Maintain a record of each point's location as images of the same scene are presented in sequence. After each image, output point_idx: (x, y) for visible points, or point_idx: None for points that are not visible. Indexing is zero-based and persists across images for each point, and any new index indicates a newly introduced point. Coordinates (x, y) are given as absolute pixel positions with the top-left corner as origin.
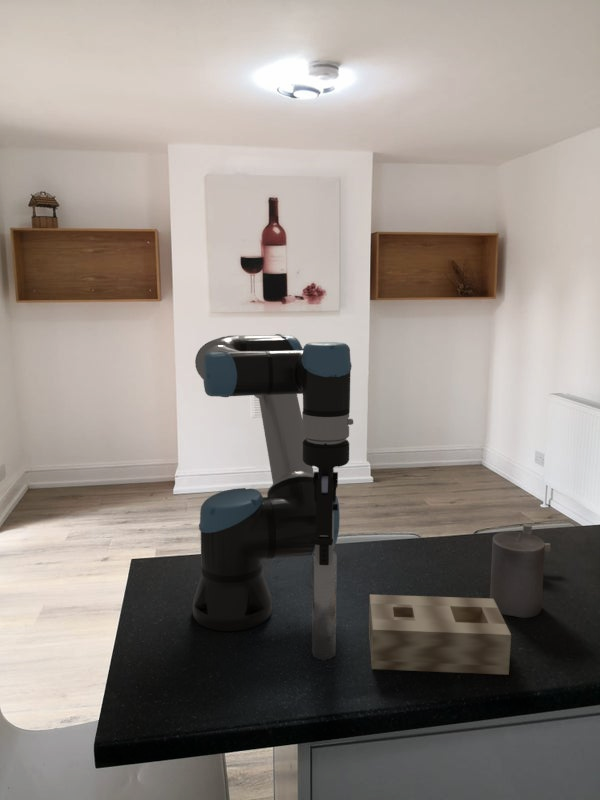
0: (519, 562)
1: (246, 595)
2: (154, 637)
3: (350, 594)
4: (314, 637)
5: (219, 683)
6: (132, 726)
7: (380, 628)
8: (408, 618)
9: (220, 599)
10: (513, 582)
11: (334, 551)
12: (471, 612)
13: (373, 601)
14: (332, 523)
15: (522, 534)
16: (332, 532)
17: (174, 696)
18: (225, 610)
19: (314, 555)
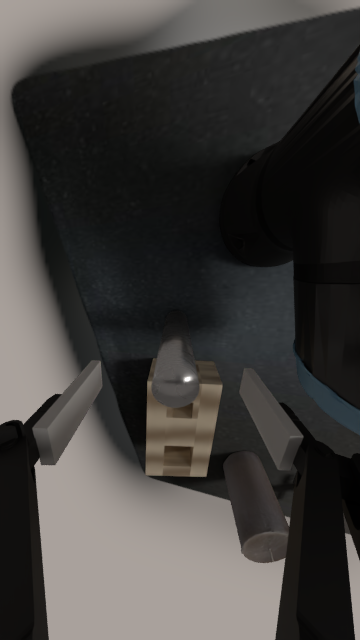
0: (239, 525)
1: (245, 230)
2: (214, 100)
3: (283, 350)
4: (168, 318)
5: (121, 216)
6: (36, 118)
7: (150, 387)
8: (170, 412)
9: (242, 187)
10: (234, 494)
11: (187, 404)
12: (191, 454)
13: (206, 387)
14: (263, 436)
15: (283, 554)
16: (253, 416)
17: (93, 163)
18: (231, 202)
19: (168, 370)
